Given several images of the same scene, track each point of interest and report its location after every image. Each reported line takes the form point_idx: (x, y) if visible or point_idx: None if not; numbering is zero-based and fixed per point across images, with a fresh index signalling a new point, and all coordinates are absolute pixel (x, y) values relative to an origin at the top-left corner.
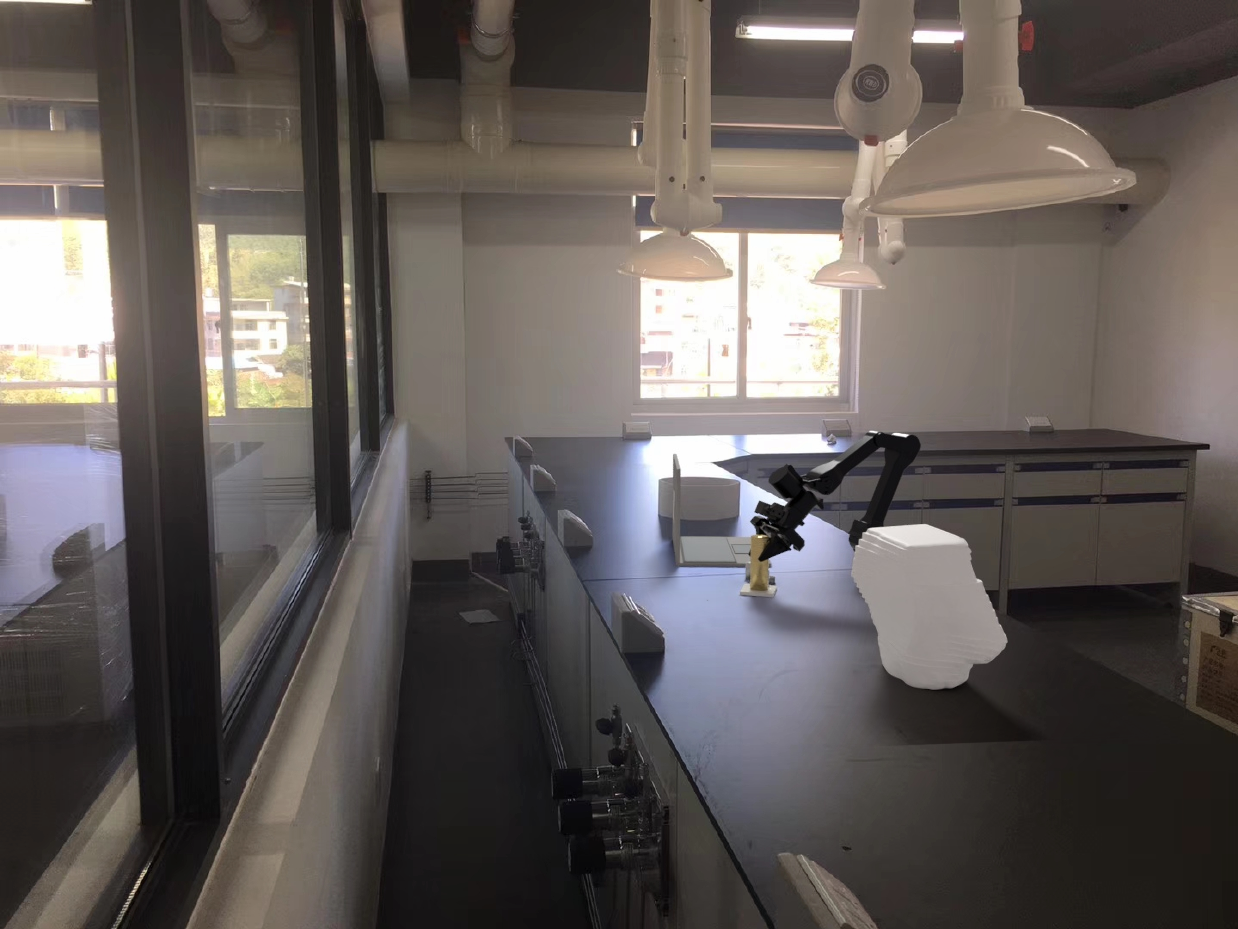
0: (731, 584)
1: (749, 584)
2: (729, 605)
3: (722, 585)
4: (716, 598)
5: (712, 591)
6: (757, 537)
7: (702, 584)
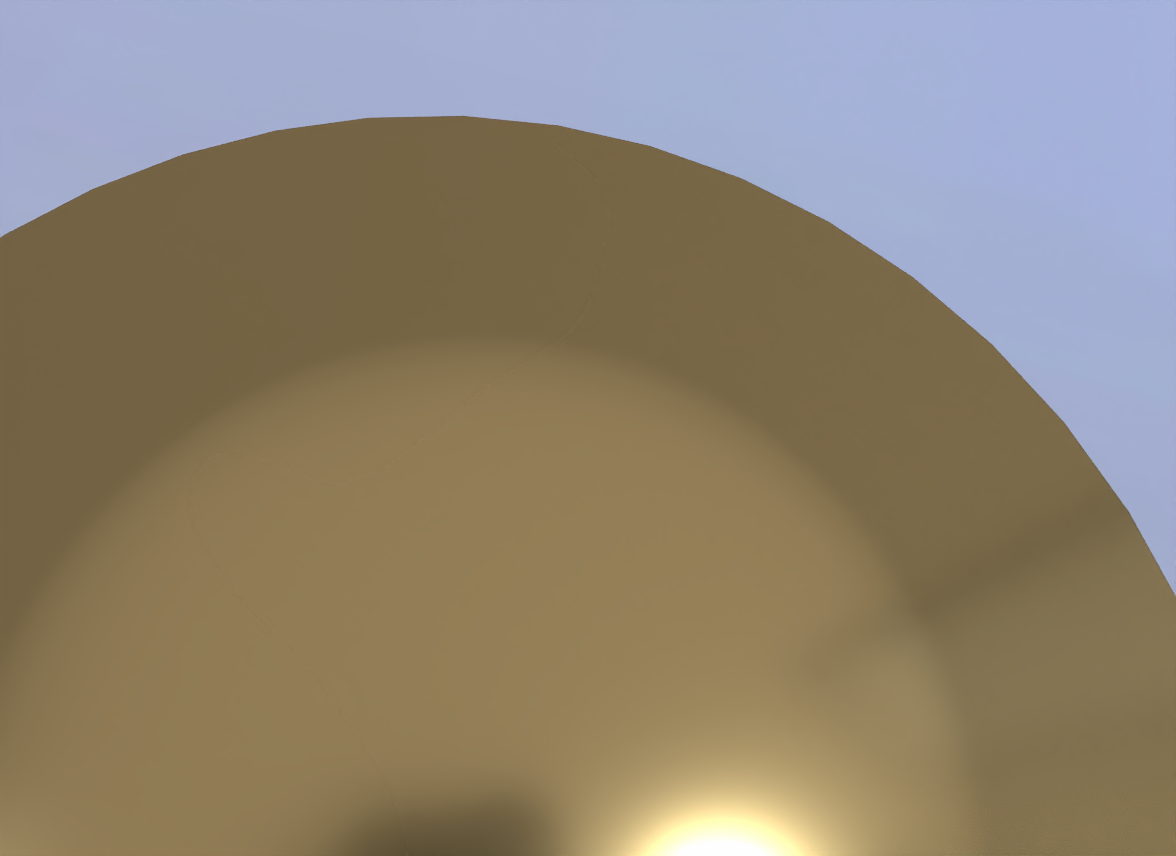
0: (1073, 432)
1: None
2: (44, 115)
3: (1026, 289)
4: (386, 48)
5: (725, 82)
6: (78, 523)
7: (1103, 46)
